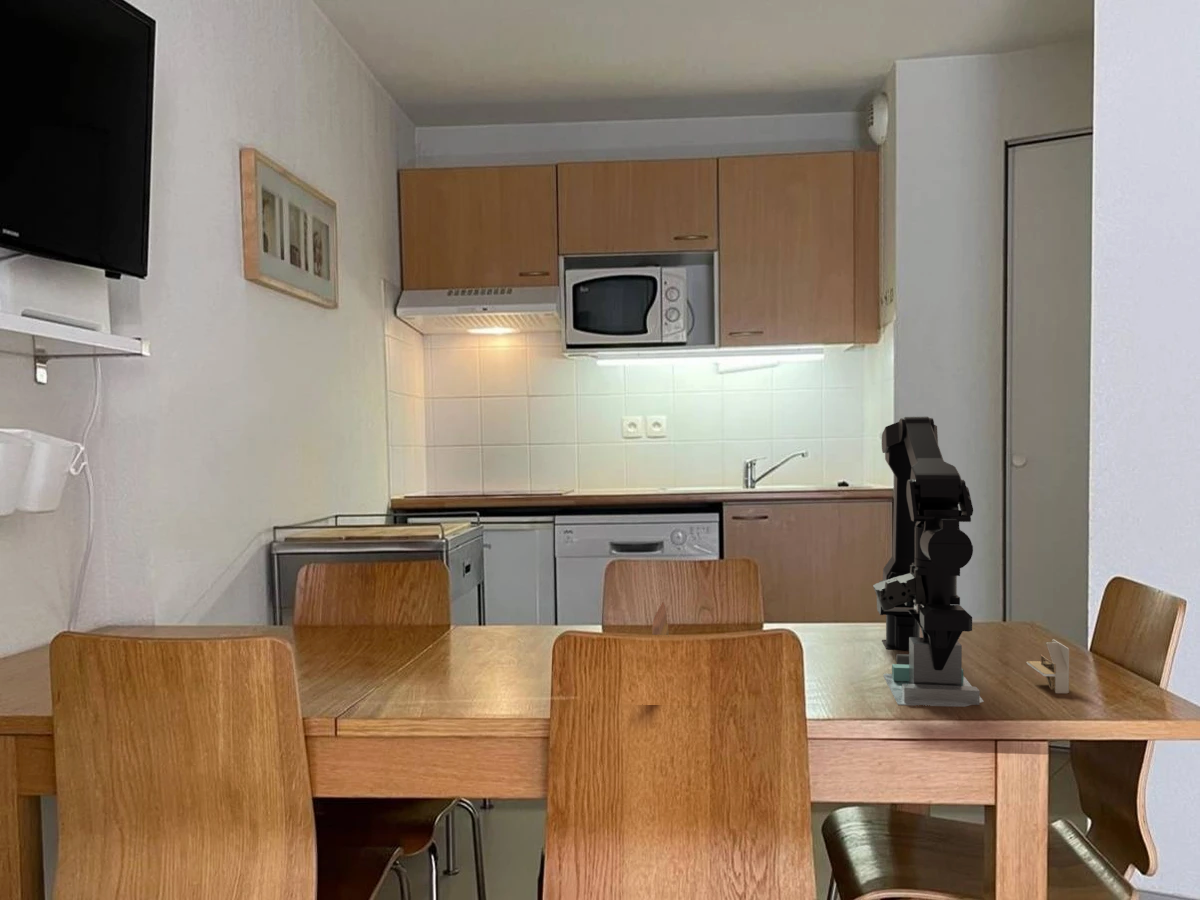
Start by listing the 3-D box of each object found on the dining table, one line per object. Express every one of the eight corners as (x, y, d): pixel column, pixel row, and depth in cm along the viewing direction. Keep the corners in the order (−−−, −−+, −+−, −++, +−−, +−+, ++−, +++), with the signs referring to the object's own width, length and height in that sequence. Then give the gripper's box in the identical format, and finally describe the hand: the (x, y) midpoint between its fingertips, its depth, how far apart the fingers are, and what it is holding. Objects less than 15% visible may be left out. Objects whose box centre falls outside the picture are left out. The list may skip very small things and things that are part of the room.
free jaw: (886, 666, 144) (886, 652, 144) (952, 668, 142) (952, 654, 142) (893, 680, 136) (893, 666, 136) (963, 683, 134) (963, 668, 134)
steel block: (909, 684, 132) (909, 637, 132) (955, 685, 131) (955, 638, 131) (913, 692, 128) (913, 643, 128) (961, 694, 127) (961, 645, 127)
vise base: (883, 676, 140) (883, 660, 140) (964, 679, 138) (964, 663, 138) (898, 707, 125) (898, 689, 125) (988, 711, 123) (989, 693, 123)
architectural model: (1044, 699, 129) (1044, 648, 129) (1026, 685, 136) (1026, 636, 136) (1069, 700, 129) (1069, 648, 129) (1050, 685, 136) (1050, 637, 135)
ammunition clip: (662, 697, 131) (661, 615, 131) (650, 696, 132) (649, 615, 131) (670, 676, 142) (669, 601, 141) (658, 675, 142) (657, 600, 142)
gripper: (869, 548, 140) (869, 647, 140) (886, 568, 121) (886, 682, 122) (944, 549, 138) (944, 649, 138) (973, 570, 119) (972, 686, 120)
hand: (935, 665), depth 130 cm, fingers closed on steel block, 4 cm apart
